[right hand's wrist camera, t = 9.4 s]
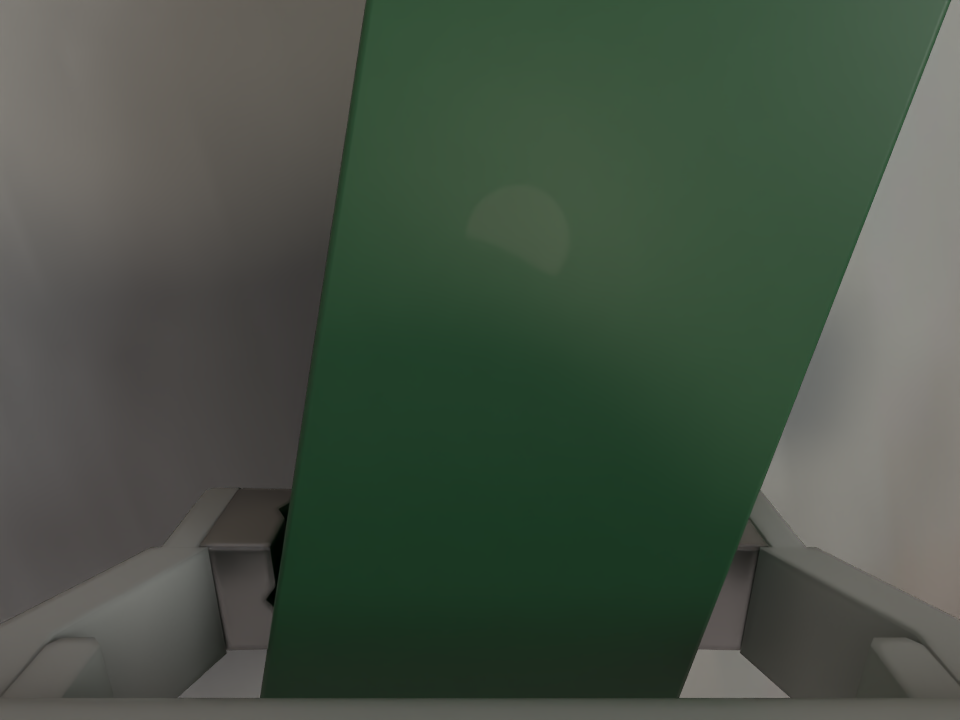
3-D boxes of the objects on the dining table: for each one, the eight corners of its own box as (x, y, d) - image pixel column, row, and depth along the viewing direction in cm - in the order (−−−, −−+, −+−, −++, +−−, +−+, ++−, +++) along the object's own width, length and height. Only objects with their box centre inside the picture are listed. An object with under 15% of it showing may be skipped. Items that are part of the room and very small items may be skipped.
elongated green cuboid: (492, -278, 11) (540, -1172, 4) (767, -198, 12) (1293, -856, 4) (343, 537, 16) (234, 850, 9) (542, 574, 16) (603, 901, 9)
